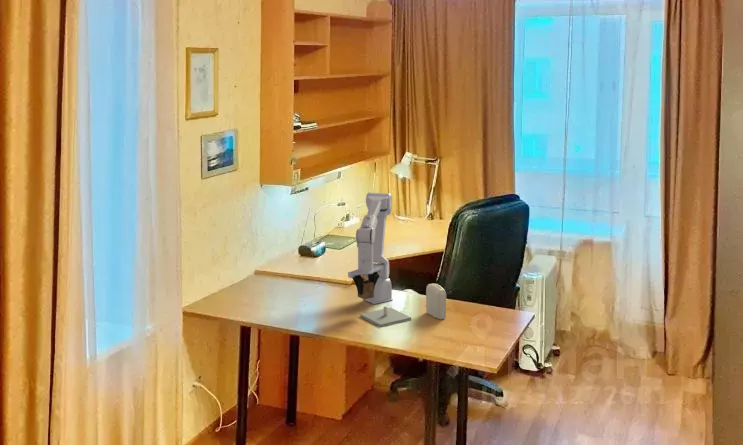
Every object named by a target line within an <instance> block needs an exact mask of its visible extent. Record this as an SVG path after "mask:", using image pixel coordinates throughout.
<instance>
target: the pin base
mask: <svg viewBox="0 0 743 445" xmlns="http://www.w3.org/2000/svg"><path fill="white" fill-rule="evenodd" d="M359 316H360V317H361V319H364V320H366V321H368V322H370V323H372V324H373V325H376V326H378V327H379V328H382V327H387V326H391V325H395V324H400V323H404V322H408V321H412V317H411V316H409V315H406V314H405V313H403V312H401V311H399V310H397V309H394V308H393V307H388V306H386V305H385V306H383V308H382V309H379V310H373V311H367V312H363V313H360V315H359Z"/></svg>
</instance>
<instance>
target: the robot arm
mask: <svg viewBox="0 0 743 445" xmlns="http://www.w3.org/2000/svg"><path fill="white" fill-rule="evenodd" d="M365 205H366V207H367V209H368V210H367V214H366V215H365V216H363V218H362V221H361V224H360V227H359V228H358V229H356V232H355V241H356V247H357V267H358V268H357V269H354V270H352V271H348V272H347V277H348V278H349V279H352V280H353V282H354V284H355V287H356V291H357V295H358V294H360V295H362V292H363V281H364V280H369V281H372V282H374V298H369V299H363V300H364V301H366V302H369V303H370V304H372V305H376V304H380V303H381V304H382V303H385V302H390V301H393V300H394V299H393V297H392V295H393V294H392V291H393V289H392V281H391V279H390V278H389V276H390V261H389V260H388V259H387V257H386V256H384V249H385V236H386V235H385V234H386V224H387V223H386V221H387V216H388V215H391V213H392V209H393V195H392V194H391V192H388V193H387V192H370V191H368V193H366V197H365ZM362 276H363V277H362Z"/></svg>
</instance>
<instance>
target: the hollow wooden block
mask: <svg viewBox="0 0 743 445" xmlns="http://www.w3.org/2000/svg"><path fill="white" fill-rule="evenodd" d="M357 297H358V298H360V299H362V300H364V299H369V298H374V282H372V281H369V280H366V279H364V281H363V292H362V295H360V294H358V293H357Z"/></svg>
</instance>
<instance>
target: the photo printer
mask: <svg viewBox="0 0 743 445" xmlns="http://www.w3.org/2000/svg"><path fill="white" fill-rule="evenodd" d="M425 290H426V291H425V309H426V310H425V311H426V312H425V313H427V314H428V315H430V316H432V317H434V318H436V319H438V320H444V319H445V318H447V292H446V290H445V289H444V288H443V287H442V286H441V285H440V284H438V283H428V284H427V285H426V289H425Z"/></svg>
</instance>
